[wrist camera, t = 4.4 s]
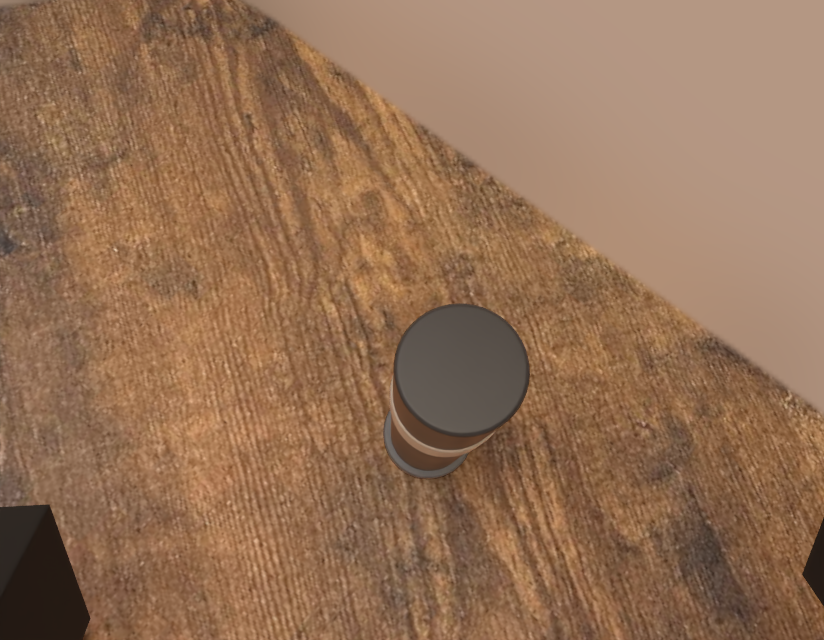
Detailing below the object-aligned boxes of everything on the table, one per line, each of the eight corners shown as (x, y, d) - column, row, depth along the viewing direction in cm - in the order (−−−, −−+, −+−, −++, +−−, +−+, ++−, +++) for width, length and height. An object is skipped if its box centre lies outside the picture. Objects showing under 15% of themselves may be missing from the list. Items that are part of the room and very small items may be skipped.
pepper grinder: (467, 389, 21) (535, 287, 12) (474, 477, 21) (550, 445, 11) (381, 393, 21) (378, 293, 12) (385, 481, 21) (384, 453, 11)
